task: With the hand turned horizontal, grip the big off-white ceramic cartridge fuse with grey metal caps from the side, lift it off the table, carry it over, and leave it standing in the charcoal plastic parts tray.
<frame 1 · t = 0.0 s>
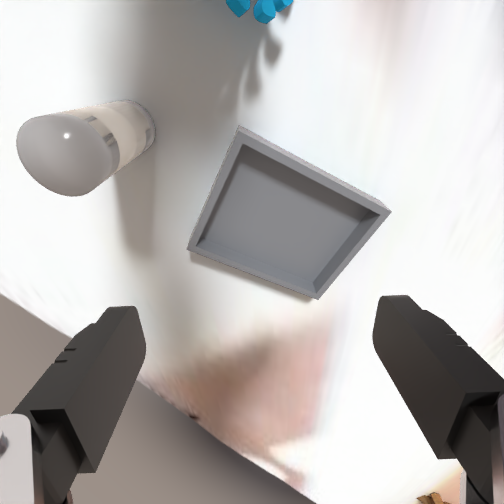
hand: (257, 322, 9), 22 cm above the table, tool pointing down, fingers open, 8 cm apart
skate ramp: (437, 498, 89), on the table
parts tray: (282, 218, 32), on the table
fuse: (130, 127, 26), on the table
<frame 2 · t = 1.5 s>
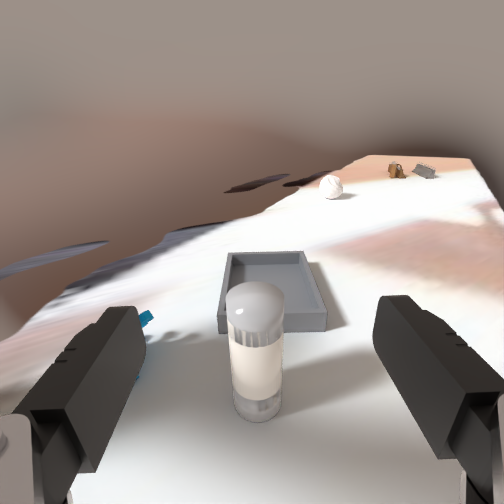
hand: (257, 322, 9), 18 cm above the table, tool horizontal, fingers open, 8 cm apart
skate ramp: (394, 176, 129), on the table
parts tray: (268, 293, 43), on the table
fuse: (257, 399, 27), on the table
white ball: (329, 199, 93), on the table
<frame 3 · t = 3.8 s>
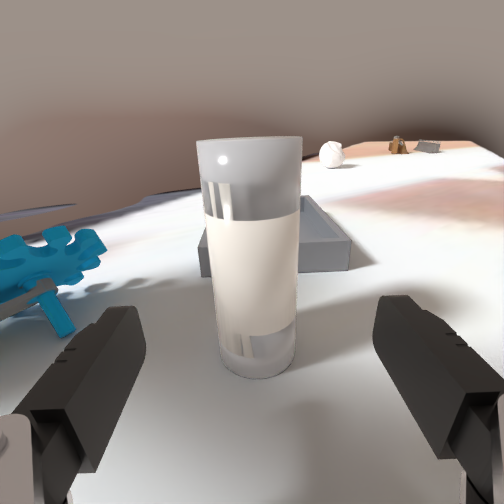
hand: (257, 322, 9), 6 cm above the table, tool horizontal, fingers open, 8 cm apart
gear: (44, 324, 20), on the table
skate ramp: (396, 154, 122), on the table
parts tray: (267, 238, 33), on the table
fuse: (257, 347, 17), on the table
white ball: (331, 168, 84), on the table
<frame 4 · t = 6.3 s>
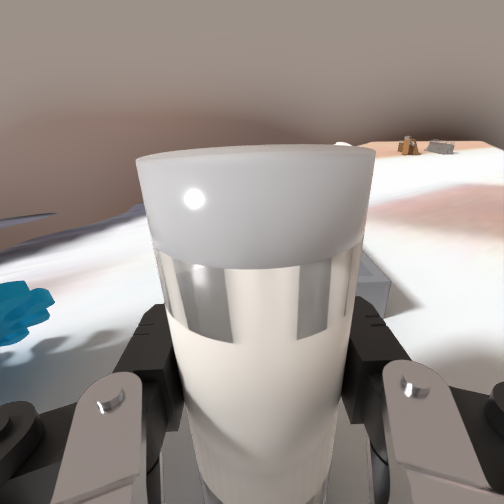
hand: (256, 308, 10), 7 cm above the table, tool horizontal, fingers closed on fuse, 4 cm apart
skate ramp: (406, 155, 115), on the table
parts tray: (274, 264, 27), on the table
fuse: (264, 479, 11), on the table, touching gripper
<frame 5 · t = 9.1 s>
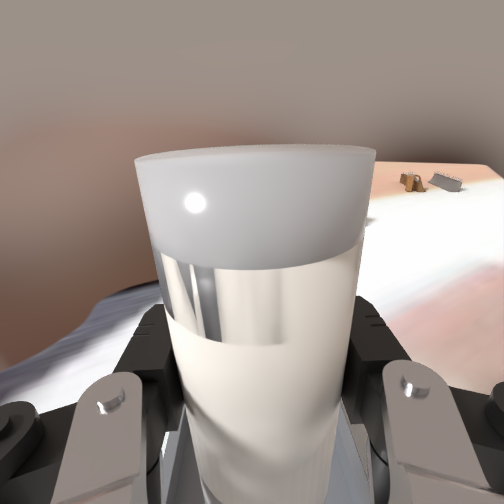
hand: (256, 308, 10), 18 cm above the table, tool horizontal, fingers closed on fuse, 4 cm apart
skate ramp: (410, 188, 108), on the table
fuse: (264, 479, 11), point 11 cm above the table, touching gripper
when the fingers open (9 cm above the table, at t = 12.0 s): fuse drops 1 cm, resting on parts tray.
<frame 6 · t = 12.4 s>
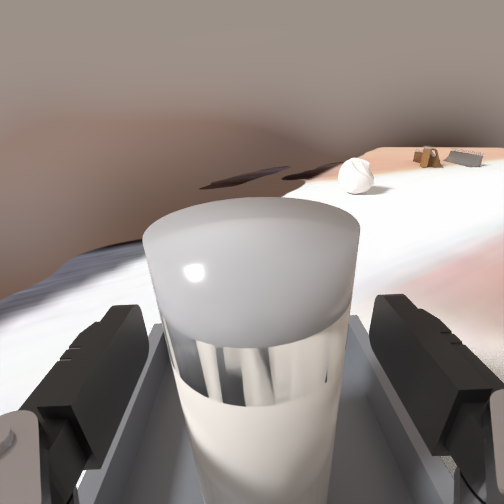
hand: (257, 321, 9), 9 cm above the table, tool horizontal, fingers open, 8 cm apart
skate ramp: (424, 166, 100), on the table
fuse: (266, 501, 11), point 1 cm above the table, touching parts tray
white ball: (353, 194, 63), on the table
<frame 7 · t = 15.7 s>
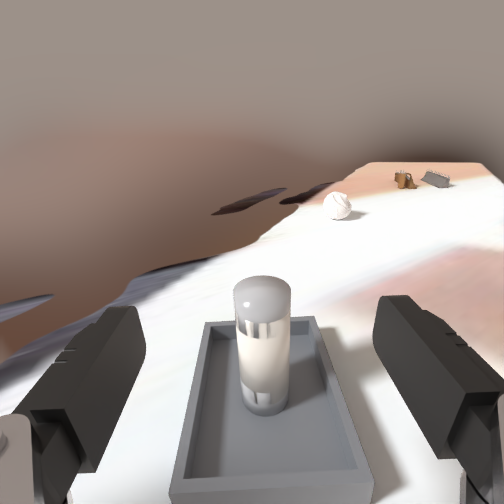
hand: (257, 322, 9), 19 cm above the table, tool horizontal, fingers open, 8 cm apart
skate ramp: (403, 186, 116), on the table
parts tray: (264, 399, 27), on the table
fuse: (265, 394, 27), point 1 cm above the table, touching parts tray
white ball: (336, 219, 78), on the table
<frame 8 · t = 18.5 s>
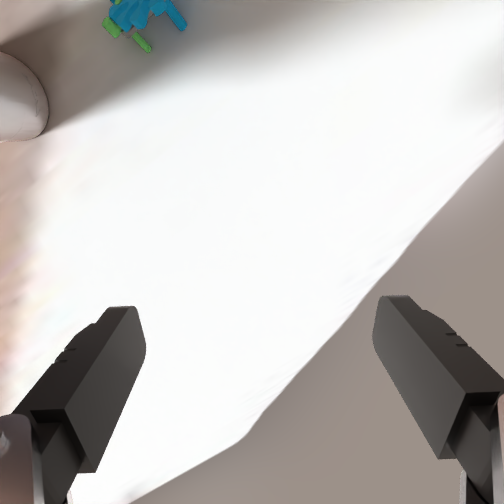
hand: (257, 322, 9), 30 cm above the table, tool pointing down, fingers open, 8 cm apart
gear: (156, 1, 29), on the table
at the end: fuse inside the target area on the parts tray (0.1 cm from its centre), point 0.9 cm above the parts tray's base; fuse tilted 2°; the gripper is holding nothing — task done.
